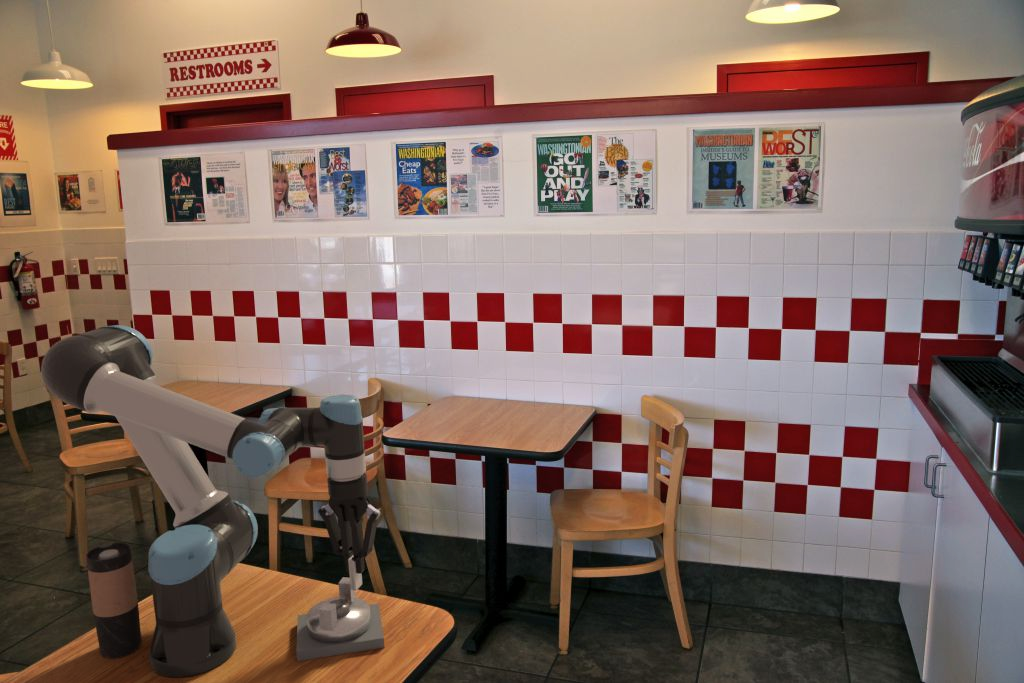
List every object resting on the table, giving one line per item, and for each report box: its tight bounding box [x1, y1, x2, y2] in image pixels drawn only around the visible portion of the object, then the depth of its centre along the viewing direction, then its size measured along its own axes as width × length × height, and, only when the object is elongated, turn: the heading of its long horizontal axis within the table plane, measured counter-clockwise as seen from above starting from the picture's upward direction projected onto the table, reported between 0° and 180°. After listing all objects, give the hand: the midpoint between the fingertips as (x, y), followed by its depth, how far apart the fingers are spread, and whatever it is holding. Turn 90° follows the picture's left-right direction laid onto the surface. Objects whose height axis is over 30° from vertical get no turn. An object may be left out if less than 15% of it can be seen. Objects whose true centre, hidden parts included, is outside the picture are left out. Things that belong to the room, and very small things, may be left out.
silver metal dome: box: [306, 576, 371, 642], centre depth 153 cm, size 12×12×7 cm
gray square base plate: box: [295, 603, 385, 662], centre depth 153 cm, size 16×13×3 cm
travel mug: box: [85, 542, 142, 659], centre depth 149 cm, size 8×8×20 cm
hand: (356, 586), depth 157 cm, fingers closed
